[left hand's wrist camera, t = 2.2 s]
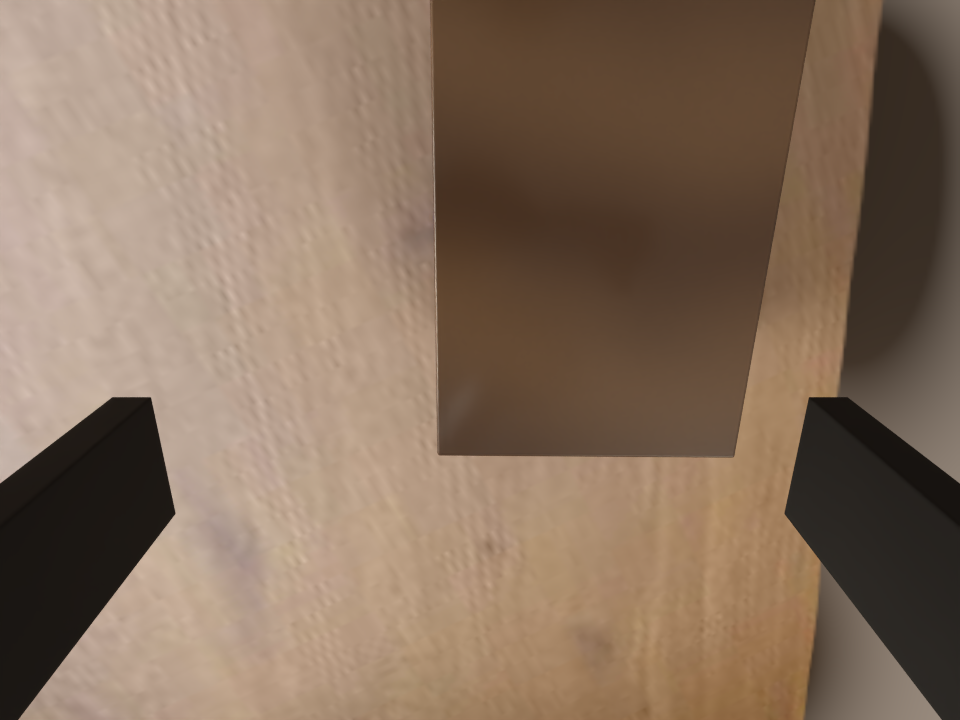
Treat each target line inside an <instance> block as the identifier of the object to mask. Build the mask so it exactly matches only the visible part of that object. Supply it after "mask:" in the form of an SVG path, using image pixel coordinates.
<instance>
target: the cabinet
mask: <svg viewBox="0 0 960 720" xmlns="http://www.w3.org/2000/svg"><path fill="white" fill-rule="evenodd" d="M814 5H815V0H430V21H431V83H432V145H433V207H434V269H435V331H436V393H437V453H438V455H462V456H597V457H734V454H735V449H736V443H737V437H738V432H739V426H740V421H741V415H742V409H743V404H744V398H745V392H746V387H747V381H748V376H749V370H750V364H751V359H752V353H753V348H754V342H755V336H756V331H757V325H758V320H759V314H760V308H761V303H762V297H763V292H764V286H765V280H766V275H767V269H768V263H769V258H770V252H771V247H772V241H773V235H774V230H775V224H776V219H777V213H778V207H779V202H780V196H781V191H782V185H783V179H784V174H785V168H786V162H787V157H788V151H789V146H790V140H791V134H792V129H793V123H794V118H795V112H796V106H797V101H798V95H799V90H800V84H801V78H802V73H803V67H804V61H805V56H806V50H807V45H808V39H809V33H810V28H811V22H812V17H813V11H814Z"/></svg>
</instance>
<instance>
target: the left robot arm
mask: <svg viewBox="0 0 960 720" xmlns="http://www.w3.org/2000/svg"><path fill="white" fill-rule="evenodd" d="M174 515H175V509H174V504H173V499H172V495H171V490H170V485H169V481H168V476H167V471H166V466H165V462H164V457H163V452H162V447H161V443H160V438H159V433H158V429H157V424H156V419H155V414H154V410H153V405H152V400H151V397H112V398H111V399H110V400H108V401H107V402H106V403H105V404H103V405H102V406H101V407H99V408H98V409H97V410H95V411H94V412H93V413H92V414H90V415H89V416H88V417H86V418H85V419H84V420H82V421H81V422H80V423H78V424H77V425H76V426H75V427H73V428H72V429H71V430H69V431H68V432H67V433H65V434H64V435H63V436H62V437H60V438H59V439H58V440H56V441H55V442H54V443H52V444H51V445H50V446H49V447H47V448H46V449H45V450H43V451H42V452H41V453H39V454H38V455H37V456H35V457H34V458H33V459H32V460H30V461H29V462H28V463H26V464H25V465H24V466H22V467H21V468H20V469H19V470H17V471H16V472H15V473H13V474H12V475H11V476H9V477H8V478H7V479H6V480H4V481H3V482H2V483H0V720H18V719H19V718H20V717H21V715H22V714H23V713H24V711H25V710H26V709H27V707H28V706H29V705H30V703H31V702H32V701H33V700H34V698H35V697H36V696H37V694H38V693H39V692H40V690H41V689H42V688H43V686H44V685H45V684H46V683H47V681H48V680H49V679H50V677H51V676H52V675H53V673H54V672H55V671H56V669H57V668H58V667H59V665H60V664H61V663H62V662H63V660H64V659H65V658H66V656H67V655H68V654H69V652H70V651H71V650H72V648H73V647H74V646H75V645H76V643H77V642H78V641H79V639H80V638H81V637H82V635H83V634H84V633H85V631H86V630H87V629H88V628H89V626H90V625H91V624H92V622H93V621H94V620H95V618H96V617H97V616H98V614H99V613H100V612H101V611H102V609H103V608H104V607H105V605H106V604H107V603H108V601H109V600H110V599H111V597H112V596H113V595H114V594H115V592H116V591H117V590H118V588H119V587H120V586H121V584H122V583H123V582H124V580H125V579H126V578H127V577H128V575H129V574H130V573H131V571H132V570H133V569H134V567H135V566H136V565H137V563H138V562H139V561H140V559H141V558H142V557H143V556H144V554H145V553H146V552H147V550H148V549H149V548H150V546H151V545H152V544H153V542H154V541H155V540H156V539H157V537H158V536H159V535H160V533H161V532H162V531H163V529H164V528H165V527H166V525H167V524H168V523H169V522H170V520H171V519H172V518H173V516H174ZM785 515H786V516H787V518H788V519H789V520H790V522H791V523H792V524H793V525H794V527H795V528H796V529H797V531H798V532H799V533H800V535H801V536H802V537H803V539H804V540H805V541H806V542H807V544H808V545H809V546H810V548H811V549H812V550H813V552H814V553H815V554H816V556H817V557H818V558H819V559H820V561H821V562H822V563H823V565H824V566H825V567H826V569H827V570H828V571H829V573H830V574H831V575H832V576H833V578H834V579H835V580H836V582H837V583H838V584H839V586H840V587H841V588H842V590H843V591H844V592H845V594H846V595H847V596H848V597H849V599H850V600H851V601H852V603H853V604H854V605H855V607H856V608H857V609H858V610H859V612H860V613H861V614H862V616H863V617H864V618H865V620H866V621H867V622H868V624H869V625H870V626H871V627H872V629H873V630H874V631H875V633H876V634H877V635H878V637H879V638H880V639H881V641H882V642H883V643H884V645H885V646H886V647H887V648H888V650H889V651H890V652H891V654H892V655H893V656H894V658H895V659H896V660H897V662H898V663H899V664H900V665H901V667H902V668H903V669H904V671H905V672H906V673H907V675H908V676H909V677H910V679H911V680H912V681H913V682H914V684H915V685H916V686H917V688H918V689H919V690H920V692H921V693H922V694H923V696H924V697H925V698H926V700H927V701H928V702H929V703H930V705H931V706H932V707H933V709H934V710H935V711H936V713H937V714H938V715H939V716H940V718H941V719H942V720H960V483H958V482H957V481H956V480H954V479H953V478H952V477H951V476H949V475H948V474H947V473H945V472H944V471H943V470H941V469H940V468H939V467H938V466H936V465H935V464H934V463H932V462H931V461H930V460H928V459H927V458H926V457H924V456H923V455H922V454H921V453H919V452H918V451H917V450H915V449H914V448H913V447H911V446H910V445H909V444H908V443H906V442H905V441H904V440H902V439H901V438H900V437H898V436H897V435H896V434H895V433H893V432H892V431H891V430H889V429H888V428H887V427H885V426H884V425H883V424H882V423H880V422H879V421H878V420H876V419H875V418H874V417H872V416H871V415H870V414H868V413H867V412H866V411H865V410H863V409H862V408H861V407H859V406H858V405H857V404H855V403H854V402H853V401H852V400H850V399H849V398H847V397H809V400H808V405H807V410H806V414H805V419H804V424H803V429H802V433H801V438H800V443H799V447H798V452H797V457H796V462H795V466H794V471H793V476H792V481H791V485H790V490H789V495H788V499H787V504H786V509H785Z"/></svg>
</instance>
